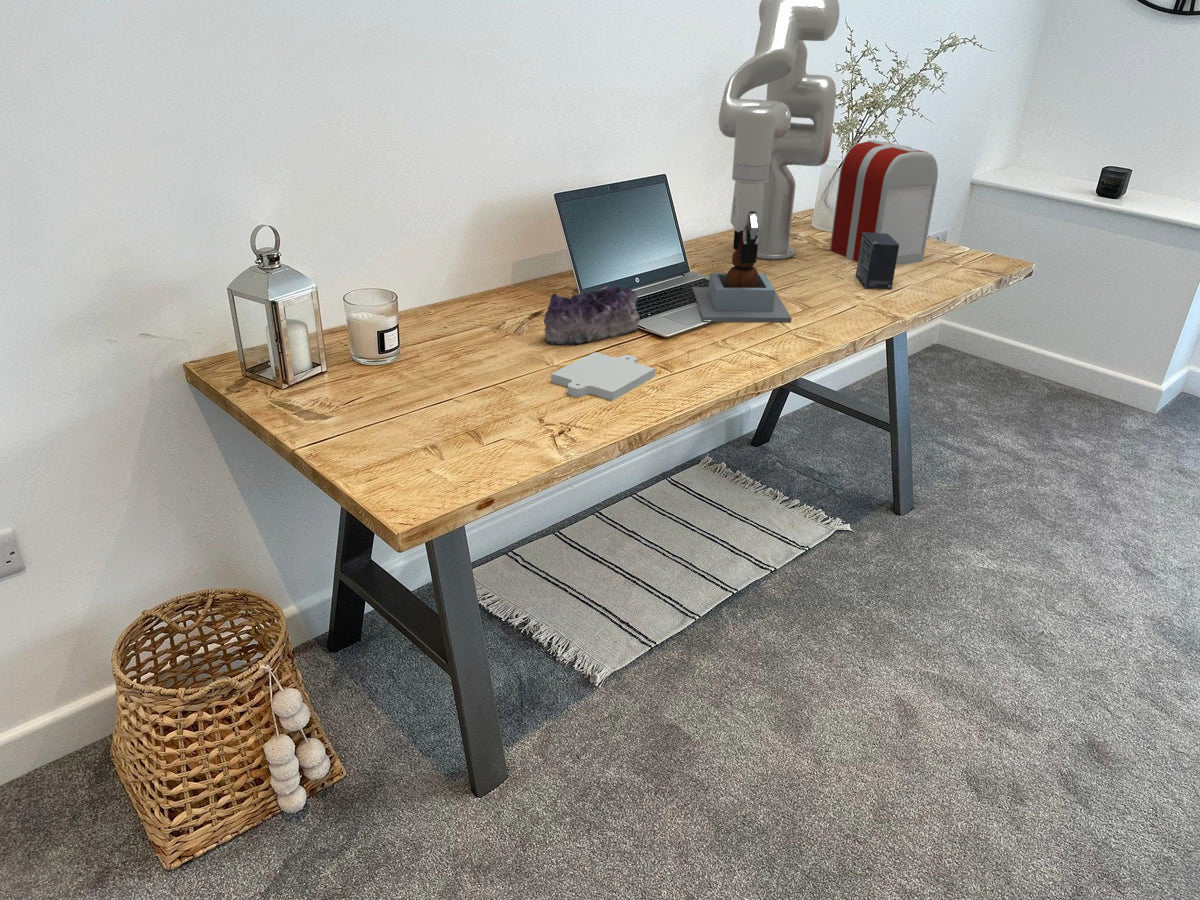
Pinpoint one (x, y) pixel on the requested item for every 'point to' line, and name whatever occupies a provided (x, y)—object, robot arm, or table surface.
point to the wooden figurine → (741, 272)
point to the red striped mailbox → (884, 198)
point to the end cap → (740, 302)
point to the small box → (877, 260)
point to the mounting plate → (603, 376)
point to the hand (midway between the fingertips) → (744, 255)
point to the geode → (590, 316)
